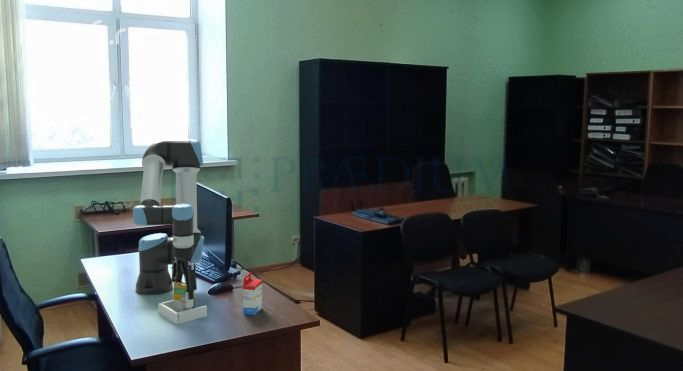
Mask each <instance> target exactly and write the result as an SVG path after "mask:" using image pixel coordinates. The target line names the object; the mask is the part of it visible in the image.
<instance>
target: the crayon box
mask: <svg viewBox="0 0 683 371" xmlns="http://www.w3.org/2000/svg"><path fill="white" fill-rule="evenodd" d="M179 284H183V285H179ZM186 290H187V288H186V283H185V282H183V283H180V282H173V300H174V311H176V312H182V311H186V310H189V309H193V308H196V307H195V305H196V304H195V302H196V301H195V300H196V299H195V296H196V295H195V293H196V292H195V290H194V291H193V307H190V308H186V292H185V291H186Z"/></svg>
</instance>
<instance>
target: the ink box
mask: <svg viewBox="0 0 683 371" xmlns="http://www.w3.org/2000/svg"><path fill="white" fill-rule="evenodd" d="M242 281H243V283H242V284H243V285H242V313H243V315H246V316H256V315H257V314H258V313H259V312H260V311H261V310H262V309H263V306H262V304H263V280H262V279H258V278H252V271H250V272H249V273H247V274H246V275H245V276H244V277H243V279H242Z"/></svg>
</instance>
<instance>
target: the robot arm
mask: <svg viewBox="0 0 683 371" xmlns="http://www.w3.org/2000/svg"><path fill="white" fill-rule="evenodd" d="M141 166H142V168H143V172H142V182H141V183H142V184H141V190H140V192H141V193H140V194H141V195H140V202H139V203H140V204H139V205H136V206H134V207H133V210H132V219H133V224H134V225H136V226H147V227H148V226H172V236H170V237H169V236H168V234H167V233H162V232H159V233H153V234H148V235H145V236H142V237H141V238H140V239H139V240H138V250H137V251H138V255H139V256H138V261H139V262H138V263H139V274H138V276H137V279H136V282H135V291H136V292H137V293H139V294H142V295H158V294H159V295H160V294H164V293H167V292H169V291H171V290H173V289H174V282H180V283H186V288H187V290H186V291H185V292H186V308H190V307H193V291H194V292H195V291H197V289H198V286H197V276H196V264H199V263H201V262H202V258H203V250H204V242H205V236H203V235H202V232H201V230H200V229H198V202H197V201H198V200H197V199H198V198H197V195H198V194H197V192H198V191H197V188H198V187H197V186H198V185H197V184H198V183H197V182H198V180H197V175H198V173H199V171H200V170H201V167H203V166H204V159H203V152H202V145H201V142H200V141H199V140H198V139H192V138H191V139H190V138H186V139H184V138H183V139H181V138H179V139H177V138H176V139H173V138H170V139H169V138H163V139H159V140H156V141H155V142H154V143H152V144H151V145H149V147H147V149H146V150H145V151H144V153H143V155H142V159H141ZM166 167H172V171H173V172H174V173H175V174H176V175H175V178H176V179H175V189H176V192H175V193H176V194H175V196H176V197H175V198H176V200H175V202H176V203H175V204H172V205H171V204H170V205H167V204H166V205H161V202H162V186H163V173H164V172H163V171H164V170H165V168H166ZM169 265H172V266H171V269H172V270H171V274H170V272H169ZM183 276H184V277H183ZM183 278H184V282H183V280H182V279H183ZM179 285H184V284H179Z"/></svg>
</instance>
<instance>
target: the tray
mask: <svg viewBox="0 0 683 371" xmlns="http://www.w3.org/2000/svg"><path fill="white" fill-rule="evenodd" d="M157 305H158V315H161V316H162V317H164V318H166V319H167V320H169V321H170V322H172V323H173V324H175V325H180V324H184V323H186V322H187V321H188V322H190V321H191V322H192V321H194V320H198V319H202V318H206V317H207V316H208V306H207V305H205V304H204V305H202V306H198V307H195V308H193V309H189V310H186V311H182V312H180V311H174V299H170V300H167V301H163V302H159V303H158V304H157Z"/></svg>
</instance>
